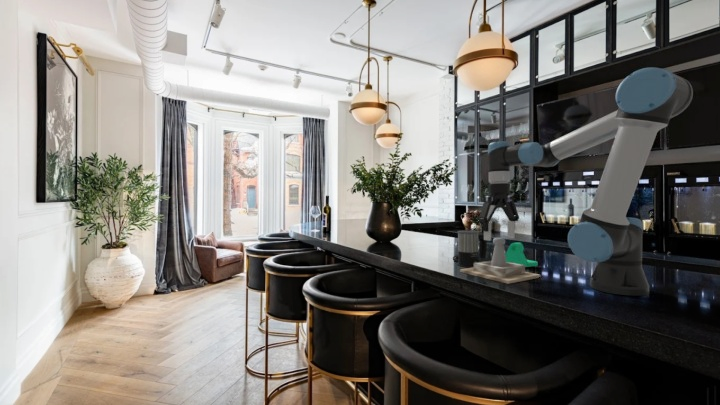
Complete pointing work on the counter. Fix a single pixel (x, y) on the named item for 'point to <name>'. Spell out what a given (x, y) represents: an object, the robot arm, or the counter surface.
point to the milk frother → (470, 248)
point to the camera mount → (518, 255)
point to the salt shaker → (499, 253)
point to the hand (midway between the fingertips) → (499, 239)
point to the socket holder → (501, 272)
